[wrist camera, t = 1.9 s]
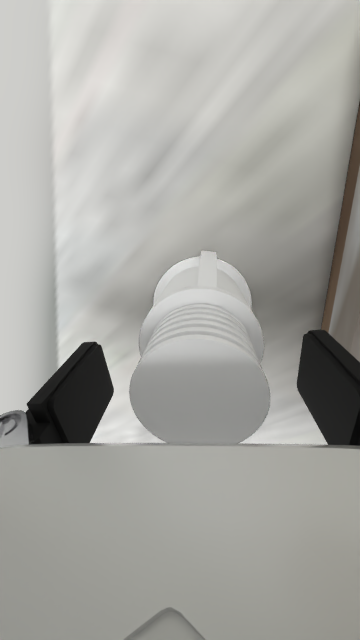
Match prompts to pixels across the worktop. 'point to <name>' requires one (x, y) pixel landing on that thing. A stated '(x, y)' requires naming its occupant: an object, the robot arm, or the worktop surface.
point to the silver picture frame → (347, 263)
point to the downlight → (201, 357)
